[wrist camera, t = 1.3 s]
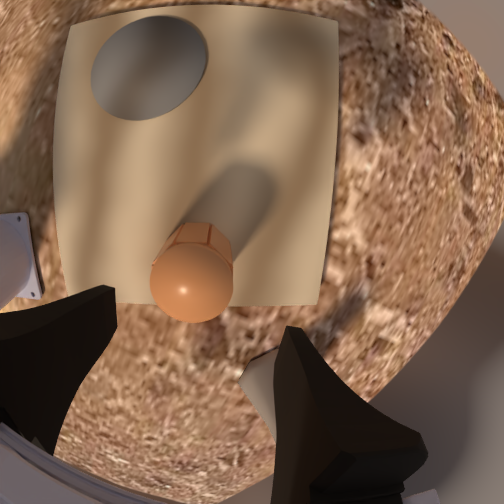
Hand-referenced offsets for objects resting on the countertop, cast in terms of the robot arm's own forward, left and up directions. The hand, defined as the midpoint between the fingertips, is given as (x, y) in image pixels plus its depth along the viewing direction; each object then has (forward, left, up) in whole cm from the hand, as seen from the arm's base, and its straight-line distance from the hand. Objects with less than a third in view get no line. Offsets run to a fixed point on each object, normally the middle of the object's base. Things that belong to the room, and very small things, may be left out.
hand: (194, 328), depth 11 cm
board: (-1, +7, -10) cm, 12 cm away
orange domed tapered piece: (0, 0, -9) cm, 9 cm away
